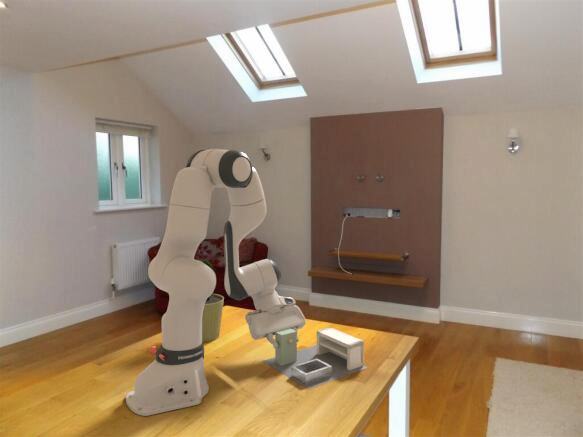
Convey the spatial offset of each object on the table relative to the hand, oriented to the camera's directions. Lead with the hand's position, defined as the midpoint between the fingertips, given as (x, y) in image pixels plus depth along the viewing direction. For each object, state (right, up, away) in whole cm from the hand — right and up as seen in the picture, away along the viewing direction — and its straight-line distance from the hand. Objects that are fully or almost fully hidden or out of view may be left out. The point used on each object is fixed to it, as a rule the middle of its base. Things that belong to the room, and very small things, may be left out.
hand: (287, 344), depth 148 cm
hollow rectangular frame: (+7, -7, -9) cm, 14 cm away
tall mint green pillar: (0, -6, +1) cm, 6 cm away
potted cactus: (-32, -5, +26) cm, 42 cm away
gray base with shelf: (+9, -7, -1) cm, 11 cm away
